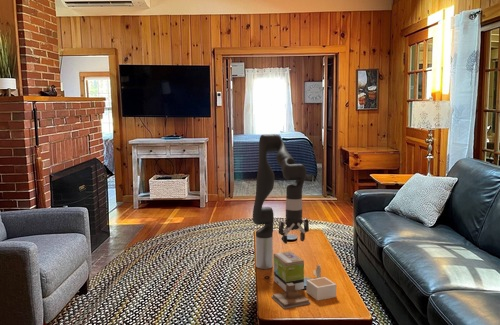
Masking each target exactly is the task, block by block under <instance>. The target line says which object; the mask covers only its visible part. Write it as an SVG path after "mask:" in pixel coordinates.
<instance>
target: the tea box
mask: <svg viewBox="0 0 500 325" xmlns="http://www.w3.org/2000/svg"><path fill="white" fill-rule="evenodd" d="M273 281H274V283H276V284H277V285H278V286H279V287H280V288H281V289H282V290H283V291H284V292H286V284H287V283H293V284H294V285H295V290H297V291H300V290H301V291H302V290H304V289H305V260H304V259H302V258H301V257H299V255H296V254H295V253H293V252H292V251H291V250H290V251H284V252H278V253H277V252H276V253H273Z"/></svg>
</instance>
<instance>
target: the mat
mask: <svg viewBox="0 0 500 325" xmlns="http://www.w3.org/2000/svg"><path fill="white" fill-rule="evenodd" d="M271 299H273V300H274V301H275V302H276V303H277V304H278V305H279V306H280V307H281V308H282V309H285V310H286V309H291V308H296V307H300V306H306V305H311V302H310V301H309V302H307V303H302V304H297V305H292V306H287V307H284V306H283V305H282V304H281V303H280V302H279V301H278V300H276V299H275V298H274V297H273V295H271Z"/></svg>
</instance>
